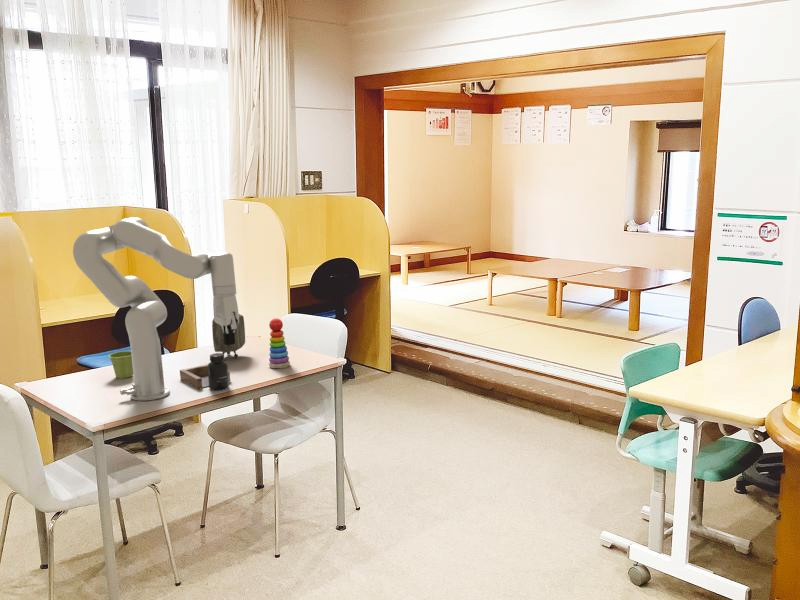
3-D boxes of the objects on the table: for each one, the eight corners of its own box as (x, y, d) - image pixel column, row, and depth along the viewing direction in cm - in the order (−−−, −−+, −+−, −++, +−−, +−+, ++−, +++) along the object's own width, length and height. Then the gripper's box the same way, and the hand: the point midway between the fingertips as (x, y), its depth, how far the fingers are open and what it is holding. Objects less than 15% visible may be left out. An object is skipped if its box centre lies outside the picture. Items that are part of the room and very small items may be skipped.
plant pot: (107, 380, 264) (105, 358, 262) (115, 373, 273) (112, 351, 271) (133, 379, 265) (131, 356, 263) (140, 372, 274) (138, 350, 272)
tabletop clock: (225, 353, 297) (221, 294, 293) (247, 353, 297) (242, 293, 292) (214, 363, 283) (209, 300, 279) (237, 362, 283) (232, 300, 278)
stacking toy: (291, 363, 280) (288, 316, 276) (288, 368, 272) (285, 320, 268) (270, 363, 280) (267, 316, 276) (267, 369, 272) (264, 321, 268)
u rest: (198, 389, 250) (197, 379, 250) (180, 379, 262) (179, 370, 262) (230, 381, 258) (229, 372, 257) (211, 372, 270) (211, 363, 269)
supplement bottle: (224, 391, 247) (221, 357, 245) (205, 390, 248) (202, 357, 246) (232, 385, 254) (230, 352, 251) (214, 384, 255) (211, 351, 253)
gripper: (204, 289, 240) (209, 342, 244) (223, 294, 229) (229, 350, 232) (225, 286, 245) (230, 338, 248) (245, 290, 233) (250, 345, 237)
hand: (229, 344), depth 240 cm, fingers closed
